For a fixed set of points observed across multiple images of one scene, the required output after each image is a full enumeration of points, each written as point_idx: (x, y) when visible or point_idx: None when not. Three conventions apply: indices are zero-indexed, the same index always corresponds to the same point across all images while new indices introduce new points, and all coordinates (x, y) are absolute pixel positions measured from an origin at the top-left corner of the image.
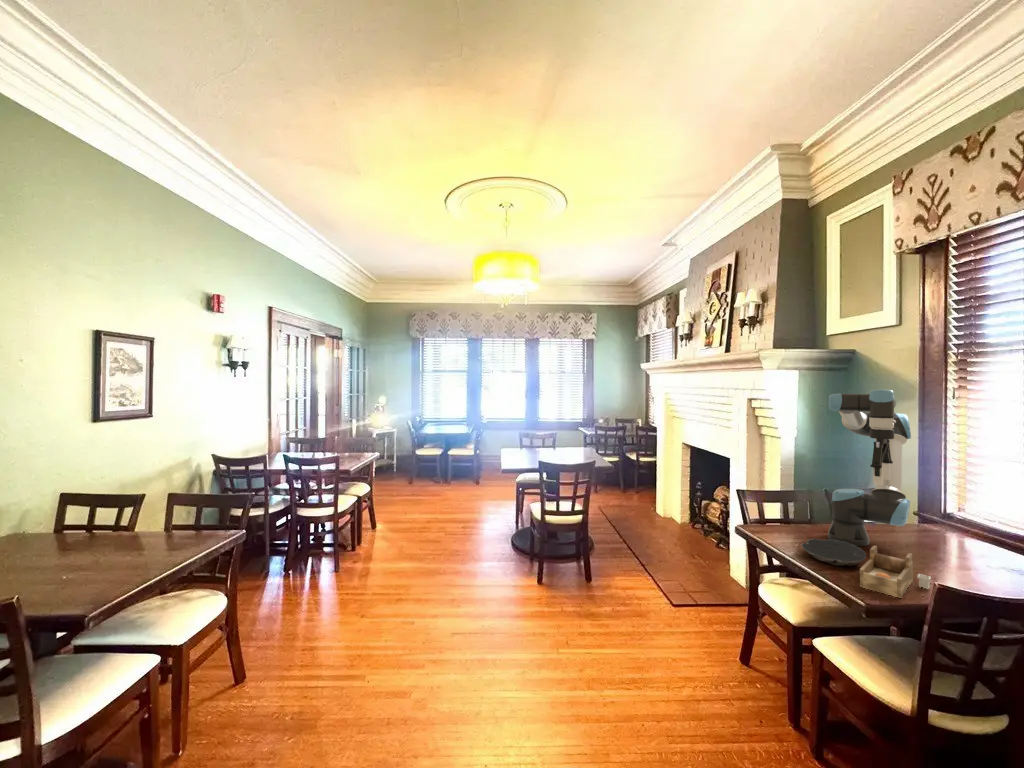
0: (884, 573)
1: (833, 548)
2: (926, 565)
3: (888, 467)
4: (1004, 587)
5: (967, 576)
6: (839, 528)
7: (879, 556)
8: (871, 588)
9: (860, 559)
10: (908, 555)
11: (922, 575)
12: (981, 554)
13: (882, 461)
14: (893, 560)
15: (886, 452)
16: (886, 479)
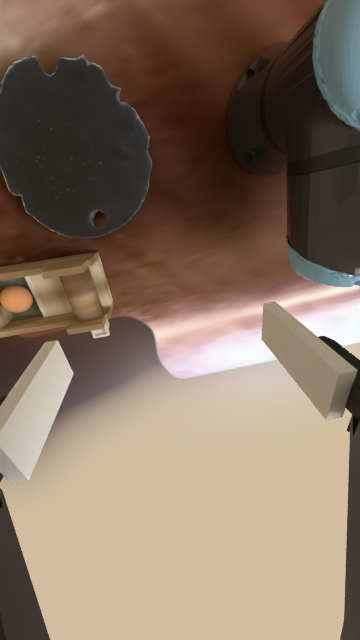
0: (11, 306)
1: (83, 156)
2: (217, 290)
3: (308, 388)
4: (204, 367)
5: (212, 335)
6: (250, 94)
7: (63, 281)
8: None
9: (73, 234)
10: (84, 328)
11: (104, 326)
12: (345, 316)
13: (19, 554)
14: (71, 303)
15: (345, 614)
16: (263, 326)
